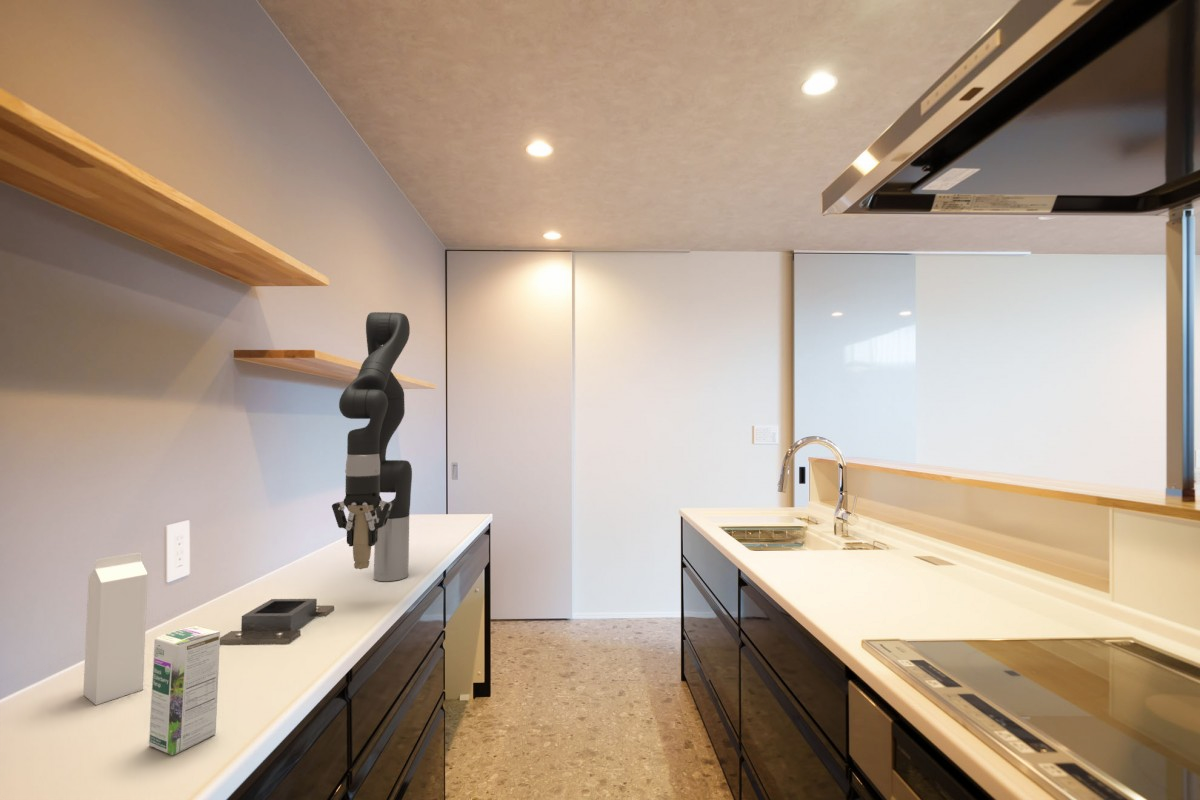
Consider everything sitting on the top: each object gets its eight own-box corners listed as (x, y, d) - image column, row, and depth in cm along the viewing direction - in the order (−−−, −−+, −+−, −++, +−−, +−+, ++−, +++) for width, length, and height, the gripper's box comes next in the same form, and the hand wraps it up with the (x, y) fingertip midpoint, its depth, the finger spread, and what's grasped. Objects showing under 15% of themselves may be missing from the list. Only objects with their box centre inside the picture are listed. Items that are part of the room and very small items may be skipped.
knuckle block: (273, 610, 128) (274, 592, 128) (334, 609, 128) (334, 592, 128) (216, 644, 108) (217, 624, 108) (288, 644, 108) (289, 623, 108)
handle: (375, 569, 128) (376, 505, 128) (345, 571, 126) (346, 506, 126) (377, 564, 132) (378, 502, 133) (348, 565, 130) (349, 503, 131)
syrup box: (146, 746, 74) (150, 637, 74) (193, 724, 79) (197, 623, 80) (171, 757, 71) (175, 644, 72) (218, 733, 77) (222, 629, 78)
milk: (82, 695, 88) (87, 557, 89) (130, 680, 93) (134, 549, 94) (95, 706, 84) (101, 562, 85) (144, 689, 89) (148, 554, 90)
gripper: (398, 471, 134) (397, 541, 133) (339, 471, 133) (338, 542, 133) (387, 474, 126) (386, 549, 126) (325, 474, 126) (324, 549, 125)
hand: (362, 545), depth 129 cm, fingers closed on handle, 4 cm apart
